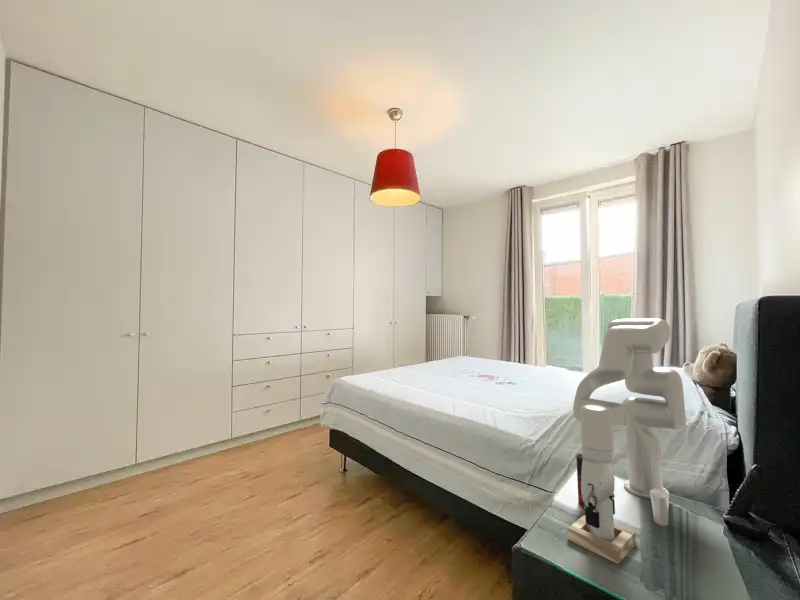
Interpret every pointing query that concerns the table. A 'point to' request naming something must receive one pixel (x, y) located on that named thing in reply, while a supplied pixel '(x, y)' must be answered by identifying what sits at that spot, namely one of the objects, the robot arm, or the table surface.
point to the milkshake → (660, 505)
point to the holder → (609, 550)
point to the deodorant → (579, 479)
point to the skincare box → (604, 520)
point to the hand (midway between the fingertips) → (600, 518)
